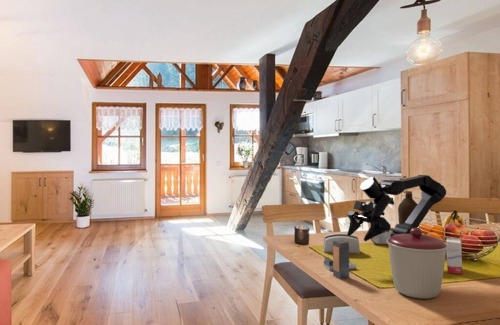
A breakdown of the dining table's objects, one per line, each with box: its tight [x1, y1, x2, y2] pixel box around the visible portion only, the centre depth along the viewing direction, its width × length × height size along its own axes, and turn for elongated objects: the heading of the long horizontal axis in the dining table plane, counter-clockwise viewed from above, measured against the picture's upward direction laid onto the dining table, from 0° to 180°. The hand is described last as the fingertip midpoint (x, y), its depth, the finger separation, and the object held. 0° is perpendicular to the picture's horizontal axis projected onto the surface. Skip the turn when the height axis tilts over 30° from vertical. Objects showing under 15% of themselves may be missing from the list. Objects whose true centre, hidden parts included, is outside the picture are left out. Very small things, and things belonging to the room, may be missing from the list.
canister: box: [386, 227, 449, 300], centre depth 111 cm, size 18×18×21 cm
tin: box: [370, 227, 395, 246], centre depth 170 cm, size 15×3×8 cm, turn 76°
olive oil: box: [397, 190, 418, 225], centre depth 181 cm, size 11×11×25 cm
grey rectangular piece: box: [323, 256, 357, 272], centre depth 137 cm, size 11×6×4 cm, turn 98°
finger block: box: [332, 240, 350, 280], centre depth 126 cm, size 4×4×13 cm
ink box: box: [445, 237, 463, 275], centre depth 131 cm, size 9×5×12 cm, turn 150°
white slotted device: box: [322, 232, 361, 254], centre depth 158 cm, size 17×5×10 cm, turn 81°
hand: (356, 237), depth 130 cm, fingers open, 9 cm apart
